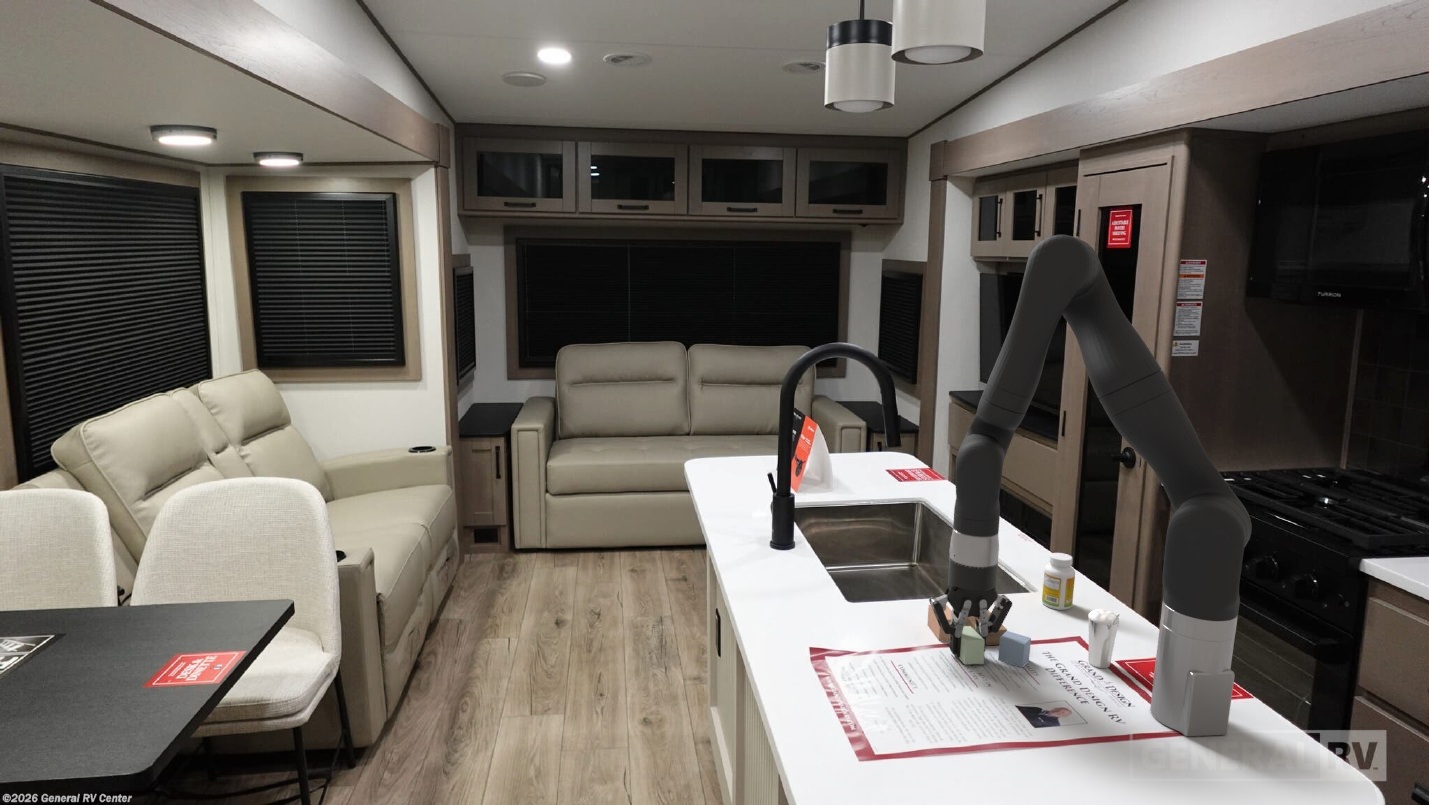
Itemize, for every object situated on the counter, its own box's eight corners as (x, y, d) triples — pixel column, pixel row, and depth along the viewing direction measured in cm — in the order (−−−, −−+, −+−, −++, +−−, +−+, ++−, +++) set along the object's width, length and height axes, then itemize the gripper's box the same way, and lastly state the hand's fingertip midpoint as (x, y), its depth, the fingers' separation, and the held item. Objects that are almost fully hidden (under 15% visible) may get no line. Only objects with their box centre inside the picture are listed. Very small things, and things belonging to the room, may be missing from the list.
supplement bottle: (1067, 599, 162) (1071, 551, 161) (1075, 611, 157) (1080, 562, 155) (1038, 598, 163) (1042, 550, 161) (1046, 610, 158) (1050, 561, 156)
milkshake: (1100, 674, 134) (1106, 616, 132) (1077, 658, 139) (1083, 602, 137) (1124, 671, 135) (1130, 613, 133) (1100, 655, 140) (1106, 599, 139)
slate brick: (1029, 660, 139) (1031, 638, 138) (1022, 667, 136) (1024, 645, 136) (1005, 653, 141) (1006, 630, 140) (998, 660, 139) (999, 637, 138)
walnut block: (1005, 645, 144) (1007, 629, 144) (977, 647, 144) (978, 630, 143) (986, 625, 152) (987, 609, 151) (959, 626, 152) (960, 610, 151)
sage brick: (983, 663, 136) (984, 640, 136) (964, 664, 136) (965, 640, 136) (969, 649, 142) (970, 626, 142) (951, 649, 142) (951, 626, 142)
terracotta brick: (956, 640, 145) (958, 619, 145) (938, 641, 145) (940, 619, 144) (944, 625, 151) (946, 604, 151) (927, 625, 151) (928, 604, 150)
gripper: (939, 566, 132) (933, 667, 135) (1025, 564, 133) (1017, 665, 136) (923, 549, 139) (918, 645, 142) (1005, 547, 140) (998, 643, 144)
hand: (967, 654), depth 139 cm, fingers closed on sage brick, 3 cm apart
